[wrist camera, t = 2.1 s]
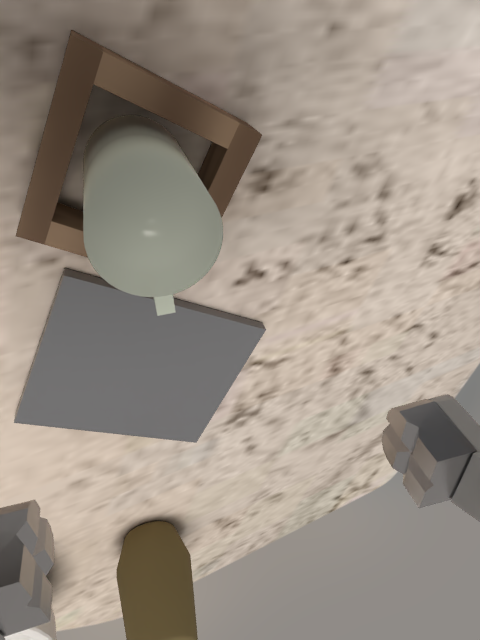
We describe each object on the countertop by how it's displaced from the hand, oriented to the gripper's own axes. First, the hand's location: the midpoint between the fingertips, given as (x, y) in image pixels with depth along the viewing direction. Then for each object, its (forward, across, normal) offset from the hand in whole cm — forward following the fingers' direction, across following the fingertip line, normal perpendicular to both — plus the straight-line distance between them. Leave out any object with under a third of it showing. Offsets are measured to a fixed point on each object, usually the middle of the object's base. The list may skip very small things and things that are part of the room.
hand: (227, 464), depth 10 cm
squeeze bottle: (+22, +6, +42) cm, 48 cm away
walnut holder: (+22, 0, 0) cm, 22 cm away
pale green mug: (+22, 0, +1) cm, 22 cm away
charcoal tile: (+22, +3, +16) cm, 27 cm away
